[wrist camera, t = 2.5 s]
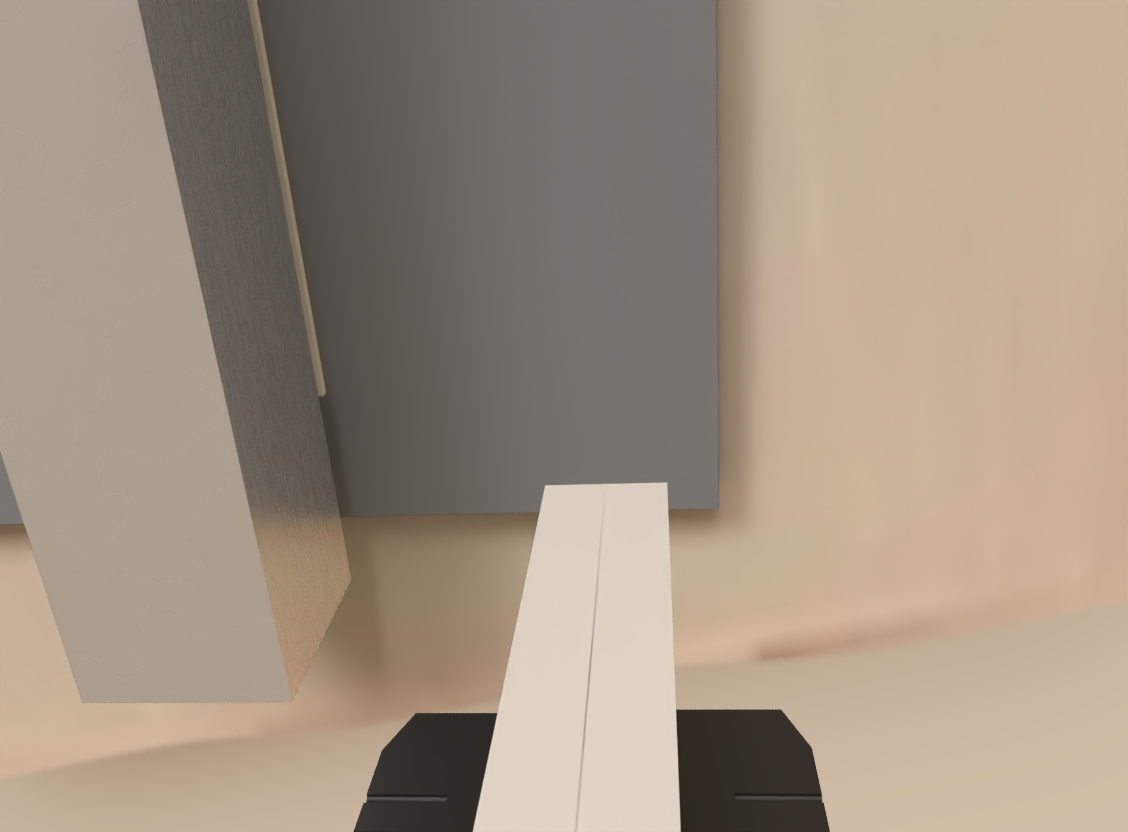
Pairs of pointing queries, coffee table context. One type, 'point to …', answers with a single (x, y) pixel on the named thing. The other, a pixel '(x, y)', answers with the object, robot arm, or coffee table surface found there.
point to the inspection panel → (500, 244)
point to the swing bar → (159, 355)
